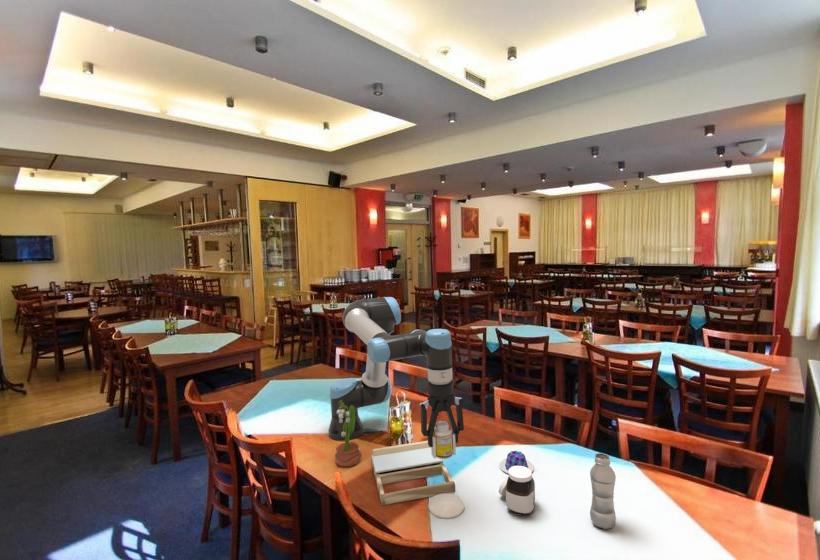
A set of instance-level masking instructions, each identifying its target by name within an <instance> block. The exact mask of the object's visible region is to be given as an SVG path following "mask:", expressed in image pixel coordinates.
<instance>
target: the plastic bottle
mask: <svg viewBox="0 0 820 560" xmlns="http://www.w3.org/2000/svg"><path fill="white" fill-rule="evenodd" d="M594 463H595V464H594V465H592V467H591V468H590V471H589V476H590V482H591V491H592V493H591V495H592V497H591V505H590V510H589V515H590V520H591V523H593V524H594V526H596V527H598V528H600V529H604V530H609V529H612V528H613V527H615V525H616V522H617V521H616V520H617V516H616V510H615V502H614V495H615V493H614V491H615V485H616V476H617V475H616V472H615V470H613V468H612V466H611V461H610V456H609V455H608V454H606V453H603V452H599V453H595V454H594Z"/></svg>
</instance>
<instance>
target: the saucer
mask: <svg viewBox="0 0 820 560" xmlns="http://www.w3.org/2000/svg"><path fill="white" fill-rule="evenodd" d="M464 510H465V503H464V500H463V499H462V498H461V497H460V496H458V495H457V494H453V493H442V494H438V495H435V496H431V498H429V501H428V511H429V512H430V514H431V515H432V516H434V517H435V518H438V519H442V520H449V519H455V518H458V517H460V516H461V515H462V514H463V512H464Z"/></svg>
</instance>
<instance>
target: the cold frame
mask: <svg viewBox="0 0 820 560" xmlns="http://www.w3.org/2000/svg"><path fill="white" fill-rule="evenodd" d="M370 458H371V466H372V470H373V471H372V472H373V474H374V478H375V482H376V483H375V484H376V487H377V492H378V494H379V495H378V496H379V499H380V503H381V506H386V505H387V506H388V505H392V504H396V503H402V502H403V503H404V502H409V501H413V500H419V499H424V498H429V497H434V496H435V495H438V494H442V493H450V494H452V493H456V483H455V481H454V479H453V477H452V476H451V474H450V472H449V471H448V469H447V467H446V466H445V464H444V461H443V462H440V463H435V464H436V465H435V464H434V465H427V466H423V467H422V466H421V467H418V468H417V467H415V468H411V469H406V470H404V469H403V470H400V471H393V472H388V473H381V474H380V473H376V472H375V468H374V464H373V460H372V456H371V457H370ZM439 474H440V475H443V476H442V478H443V479H444V481H445V482H442V483H436V484H435V483H434V484H430V485H429V484H428V485H425V486H419V487H414V488H413V487H412V488H409V489H401V490H396V491H390V492H386V493H385V491H384V486H383V485H389V484H394V483H400V482H406V481H410V480H417V479H421V478H422V479H423V478H428V477H434V475H435V476H439ZM451 492H452V493H451Z"/></svg>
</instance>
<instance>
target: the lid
mask: <svg viewBox="0 0 820 560" xmlns="http://www.w3.org/2000/svg"><path fill="white" fill-rule="evenodd" d="M370 456H371V457H372V458H371V459H372V460H373V464H374V468H375V472H376V473H379V474H380V473H385V472H392V471H397V470H404V469H409V468H417V467H422V466H429V465H433V464H434V465H435V464H436V463H440V462H443V463H444V459H439V458H437V457H436V458H435V459H434V458H433V456H432V454H431V447H429V445H428V440H423V441H422V440H421V441H416V442H410V443H402V444H397V445H396V444H395V445H390V446H383V447H378V448H377V447H376V448H373V449H372V453H371V455H370ZM372 460H371V461H372Z"/></svg>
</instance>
